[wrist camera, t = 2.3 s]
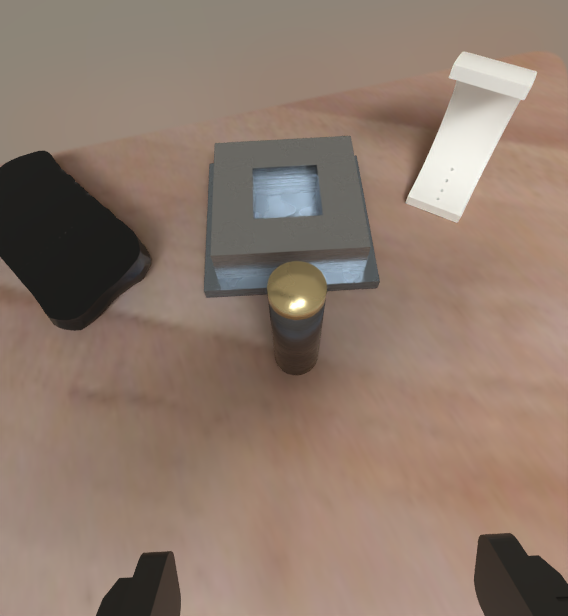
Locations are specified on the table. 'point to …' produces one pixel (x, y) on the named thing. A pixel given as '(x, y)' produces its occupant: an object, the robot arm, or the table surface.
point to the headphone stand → (468, 132)
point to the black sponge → (64, 242)
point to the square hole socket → (286, 215)
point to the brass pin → (296, 314)
